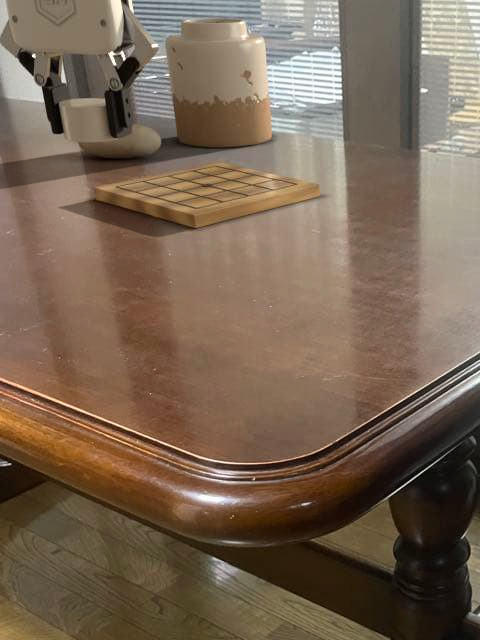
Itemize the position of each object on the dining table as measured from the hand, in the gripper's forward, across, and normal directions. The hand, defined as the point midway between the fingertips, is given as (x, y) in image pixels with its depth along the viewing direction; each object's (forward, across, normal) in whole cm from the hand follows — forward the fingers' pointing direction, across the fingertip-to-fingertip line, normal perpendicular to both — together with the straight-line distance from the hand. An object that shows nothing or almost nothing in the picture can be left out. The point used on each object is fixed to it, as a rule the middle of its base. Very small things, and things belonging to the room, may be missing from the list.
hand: (92, 131), depth 83 cm
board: (+12, 0, +26) cm, 29 cm away
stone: (+13, -22, +47) cm, 53 cm away
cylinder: (+1, 0, 0) cm, 1 cm away
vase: (+12, -12, +64) cm, 67 cm away
